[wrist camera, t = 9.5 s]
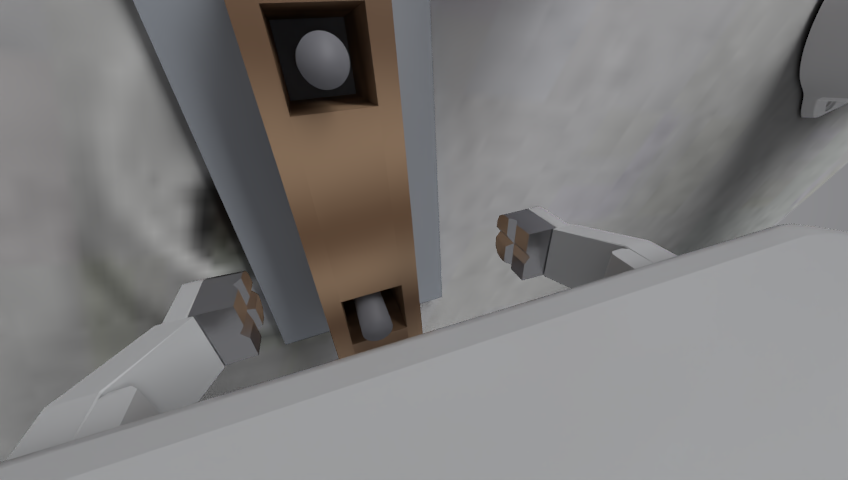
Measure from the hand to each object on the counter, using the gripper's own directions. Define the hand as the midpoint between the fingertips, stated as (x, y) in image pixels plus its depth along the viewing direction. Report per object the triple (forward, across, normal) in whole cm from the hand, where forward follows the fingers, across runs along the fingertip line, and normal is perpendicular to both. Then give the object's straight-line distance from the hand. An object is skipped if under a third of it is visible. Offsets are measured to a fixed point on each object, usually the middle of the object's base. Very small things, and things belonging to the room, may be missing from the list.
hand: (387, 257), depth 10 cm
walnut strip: (+9, +1, +1) cm, 9 cm away
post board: (+10, +1, +1) cm, 10 cm away
